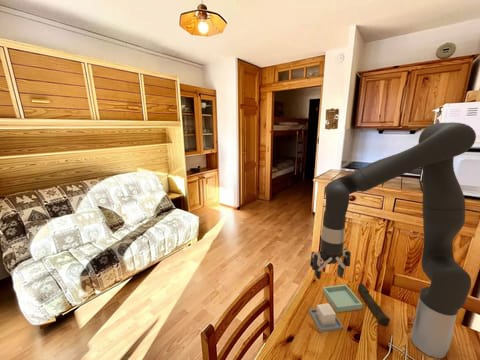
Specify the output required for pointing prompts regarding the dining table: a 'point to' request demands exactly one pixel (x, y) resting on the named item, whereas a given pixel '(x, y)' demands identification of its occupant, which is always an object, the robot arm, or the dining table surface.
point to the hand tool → (373, 305)
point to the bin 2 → (342, 298)
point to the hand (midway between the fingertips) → (328, 276)
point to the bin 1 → (325, 328)
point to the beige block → (325, 314)
